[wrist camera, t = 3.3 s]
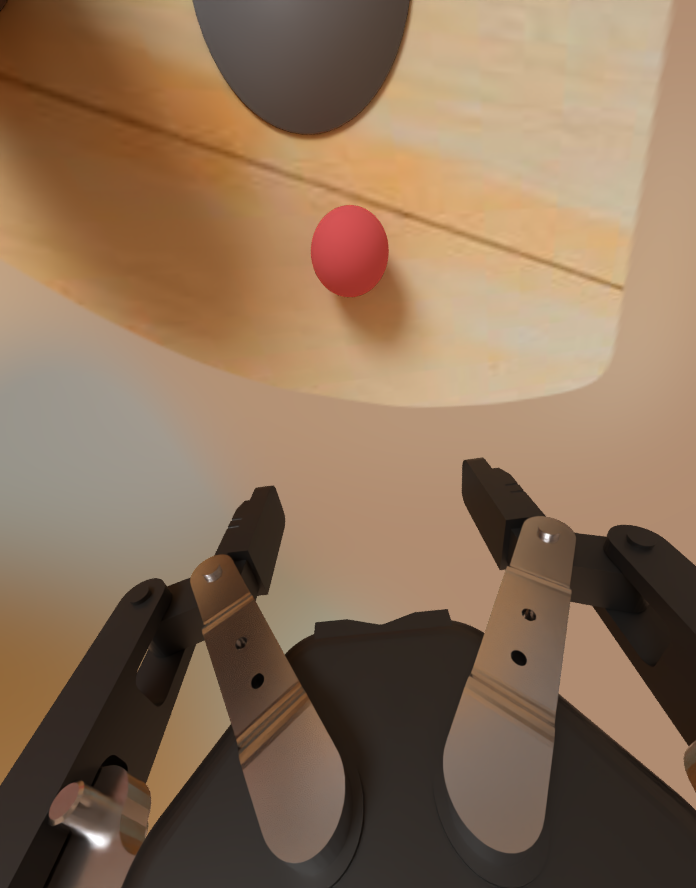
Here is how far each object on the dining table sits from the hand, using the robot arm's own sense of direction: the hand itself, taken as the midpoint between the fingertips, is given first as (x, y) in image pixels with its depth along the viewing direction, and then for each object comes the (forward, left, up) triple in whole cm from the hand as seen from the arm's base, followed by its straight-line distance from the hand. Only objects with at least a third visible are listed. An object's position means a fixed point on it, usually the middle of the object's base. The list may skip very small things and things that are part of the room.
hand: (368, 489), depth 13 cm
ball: (-1, -9, -15) cm, 18 cm away
